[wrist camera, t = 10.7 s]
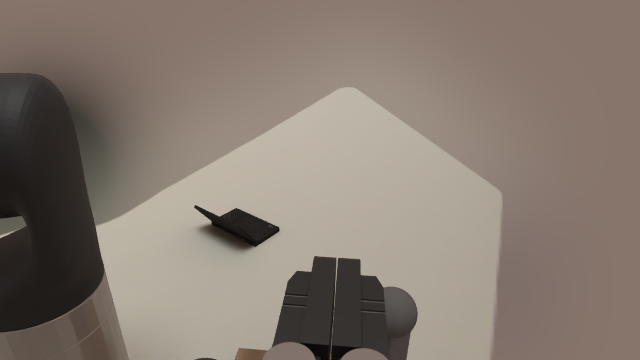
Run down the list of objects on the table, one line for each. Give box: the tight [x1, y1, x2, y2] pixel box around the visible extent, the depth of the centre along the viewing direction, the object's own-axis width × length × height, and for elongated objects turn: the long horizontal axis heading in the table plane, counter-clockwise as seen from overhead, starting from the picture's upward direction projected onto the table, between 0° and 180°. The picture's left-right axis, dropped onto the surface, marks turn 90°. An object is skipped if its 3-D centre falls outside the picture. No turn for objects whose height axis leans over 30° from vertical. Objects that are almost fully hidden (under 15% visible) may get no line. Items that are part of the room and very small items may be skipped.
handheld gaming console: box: [194, 205, 279, 247], centre depth 69 cm, size 12×7×10 cm
